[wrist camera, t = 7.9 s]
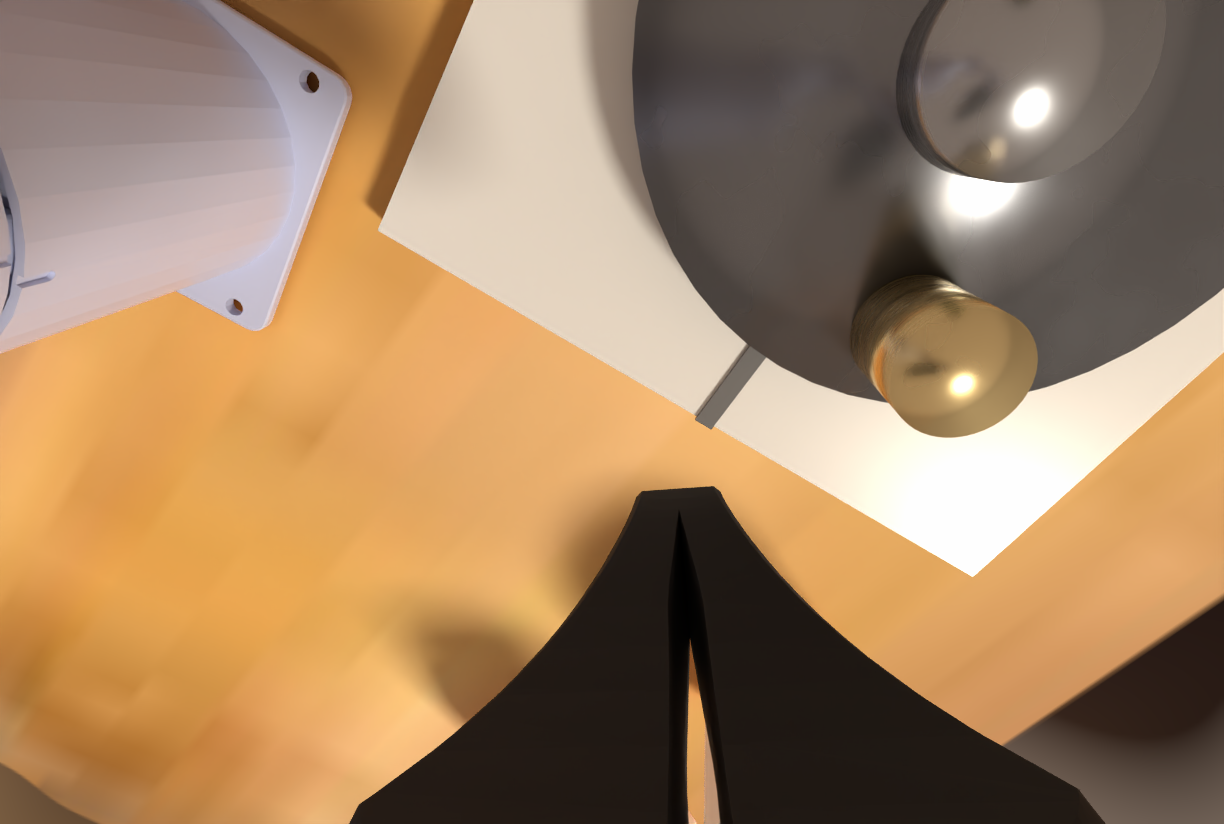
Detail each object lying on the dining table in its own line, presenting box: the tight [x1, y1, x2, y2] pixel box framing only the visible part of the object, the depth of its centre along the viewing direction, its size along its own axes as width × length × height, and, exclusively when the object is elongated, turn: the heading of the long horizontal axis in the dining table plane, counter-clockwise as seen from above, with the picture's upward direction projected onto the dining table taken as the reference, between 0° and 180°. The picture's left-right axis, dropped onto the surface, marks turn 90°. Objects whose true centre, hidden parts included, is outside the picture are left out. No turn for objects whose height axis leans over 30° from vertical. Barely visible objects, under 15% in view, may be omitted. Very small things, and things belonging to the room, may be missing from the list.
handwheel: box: [632, 0, 1224, 438], centre depth 13 cm, size 16×16×4 cm
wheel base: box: [378, 0, 1224, 577], centre depth 15 cm, size 22×22×1 cm
